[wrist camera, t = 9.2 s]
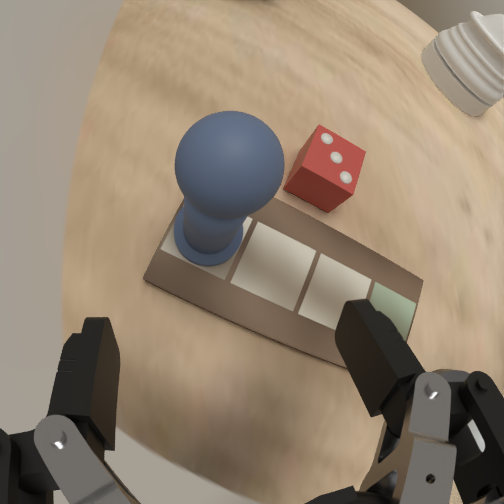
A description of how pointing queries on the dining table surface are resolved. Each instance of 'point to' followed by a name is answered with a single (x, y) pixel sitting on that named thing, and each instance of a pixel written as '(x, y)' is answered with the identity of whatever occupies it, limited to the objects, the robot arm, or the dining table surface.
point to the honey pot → (469, 63)
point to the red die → (325, 170)
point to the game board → (290, 280)
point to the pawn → (223, 183)
